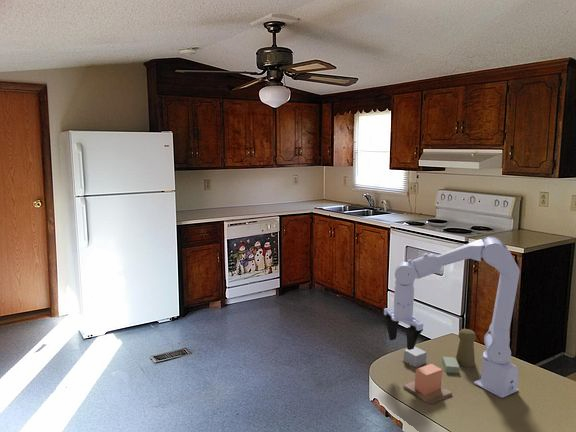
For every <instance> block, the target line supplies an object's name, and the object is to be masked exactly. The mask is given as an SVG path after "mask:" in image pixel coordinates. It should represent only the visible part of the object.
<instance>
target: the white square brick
mask: <svg viewBox="0 0 576 432" xmlns="http://www.w3.org/2000/svg"><path fill="white" fill-rule="evenodd" d="M404 361H405V362H404ZM403 362H404V363H406V362H407V363H406V364H408V363H409V364H408V365H410V364H411V365H410V366H412V367H414V368H418V367H420V366H423V365H427V351H425V350H423V349H421V348H419V347H418V346H416V345H415V346H414V349H411V350H408V349H407V348H406V349H404V350H403ZM417 366H418V367H417Z"/></svg>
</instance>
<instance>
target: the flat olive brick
mask: <svg viewBox="0 0 576 432" xmlns="http://www.w3.org/2000/svg"><path fill="white" fill-rule="evenodd" d="M441 359H442V360H441V364H442V366H443V369H444V371H445V373H449V374H460V367H461V366H460V365H459V364H458V362H457V360H456V356H455V357H453V356H442V358H441Z"/></svg>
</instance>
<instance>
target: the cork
mask: <svg viewBox="0 0 576 432" xmlns="http://www.w3.org/2000/svg"><path fill="white" fill-rule="evenodd" d="M458 338H459V343H458V346H457V351H456V355H455V358H456V360H457V362H458V365H459V366H460V367H465V368H471V367H472V368H473V367H475V365H476V360H475V359H476V358H475V343H474V341H476V338H477V335H476V332H475V331H473V330H472V329H468V328H462V329H460V330H459V332H458Z"/></svg>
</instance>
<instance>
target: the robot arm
mask: <svg viewBox="0 0 576 432" xmlns="http://www.w3.org/2000/svg"><path fill="white" fill-rule="evenodd" d="M468 259H469V260H470V259H471V260H474V261H477V262H482V259H483V260H484V262H486V264H488V265H489V266H491V267H494V268H495V269H496V270H497V271H498V273H499V278H498V284H497V290H496V296H495V300H494V301H495V302H494V307H493V314H492V319H491V323H490V324H489V327H488V331H487V332H486V333H485V334H484V337H483V343H484V345H485V348H486V349H485V350H484V352H483V353H482V360H481V374H480V379H477V380H474V381H473V383H474V384H475V385H476V386H479V387H480V388H482V389H484V390H486V391H488V392H490V393H491V394H493V395H495V396H497V397H499V398H501V399H502V398H505V397H508V396H510V395H512V394H514V393H516V392H518V391H519V388H518V382H519V372H520V370H519V367H518V366H517V365H515V364H513V363H512V361H511V357H512V351H511V348H510V343H511V342H510V341H511V338H510V328H511V323H512V318H513V314H514V313H513V312H514V307H515V302H516V296H517V289H518V284H519V277H520V273H521V272H520V271H521V270H520V268H519V266H518V264H517V263H516V261H515V259H514V256H513V255H512V253H511V251H510V249H509V247H507V245H506V244H505V243H504V242H503V241H501V239H499V238H497V237H495V236H488V237H485V238H483V239H476V240H474V241H471V242H468V243H466V244H464V245H461V246H459V247H457V248H453V249H451V250H449V251H446V252H442V253H441V254H439V255H437V254H435V253H429V254H428V252H426V253H423V254H422V256H421V257H418V258H415V259H411V258H409V259H408V260H407V261H401V262H399V263H398V264H397V266H396V268H395V272H394V279H395V282H394V283H395V285H394V293H393V295H394V296H393V308H392V307H391V308H390V307H387V308H386V307H385V308H384V309H383V315H384V316H385V317H383V318H382V321H383V323H384V324H385V326H386V329H387V334H388V338H389V341H394V340H397V335H398V327H399V324H400V322H401V323H403V324H406V325H408V326H409V327H405V328H404V330H405V335H406V349H408V350H411V349H414V346H415V347H416V343H417V340H418V339H419V336H420V335H421V333H422V332H423V331H424V322H421V321H420V320H419V319H418V318H416V317H415V316H414V314H413V313H414V297H415V287H414V282H415V280H416V279H418V280H419V279H422V278H425V277H427V276H430V275H434V274H436V273H439V272H440V271H441V270H442V268H443V266H448V265H451V264H455V263H458V262H462V261H465V260H468Z"/></svg>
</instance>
